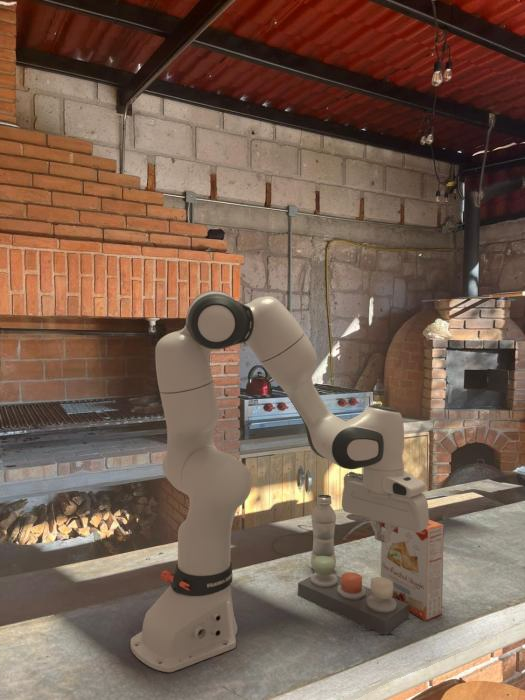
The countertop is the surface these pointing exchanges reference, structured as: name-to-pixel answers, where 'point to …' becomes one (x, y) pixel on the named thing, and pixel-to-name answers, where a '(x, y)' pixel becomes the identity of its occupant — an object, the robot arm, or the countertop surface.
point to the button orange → (351, 582)
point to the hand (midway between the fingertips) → (382, 540)
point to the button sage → (324, 565)
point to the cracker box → (415, 568)
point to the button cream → (381, 588)
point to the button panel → (354, 603)
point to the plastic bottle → (323, 529)
